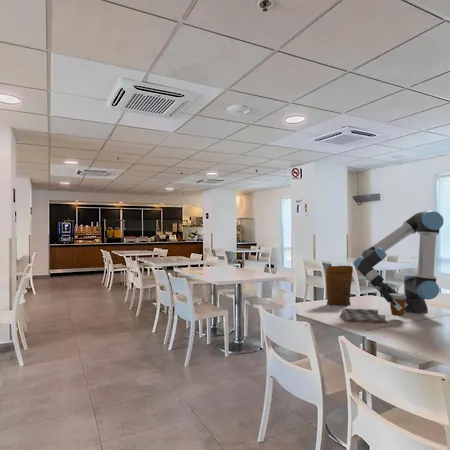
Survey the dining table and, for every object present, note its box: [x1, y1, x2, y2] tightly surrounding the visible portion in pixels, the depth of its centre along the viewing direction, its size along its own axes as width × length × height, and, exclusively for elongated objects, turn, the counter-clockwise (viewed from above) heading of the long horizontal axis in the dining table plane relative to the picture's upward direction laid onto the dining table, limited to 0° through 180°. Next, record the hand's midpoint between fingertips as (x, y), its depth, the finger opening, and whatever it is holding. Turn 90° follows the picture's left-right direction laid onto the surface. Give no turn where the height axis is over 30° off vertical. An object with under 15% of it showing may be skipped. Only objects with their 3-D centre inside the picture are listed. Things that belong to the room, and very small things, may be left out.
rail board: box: [340, 307, 388, 324], centre depth 203 cm, size 22×17×4 cm
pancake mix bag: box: [325, 265, 354, 307], centre depth 242 cm, size 7×19×28 cm, turn 83°
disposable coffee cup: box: [389, 292, 406, 317], centre depth 202 cm, size 10×10×12 cm
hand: (403, 308), depth 199 cm, fingers closed on disposable coffee cup, 9 cm apart
